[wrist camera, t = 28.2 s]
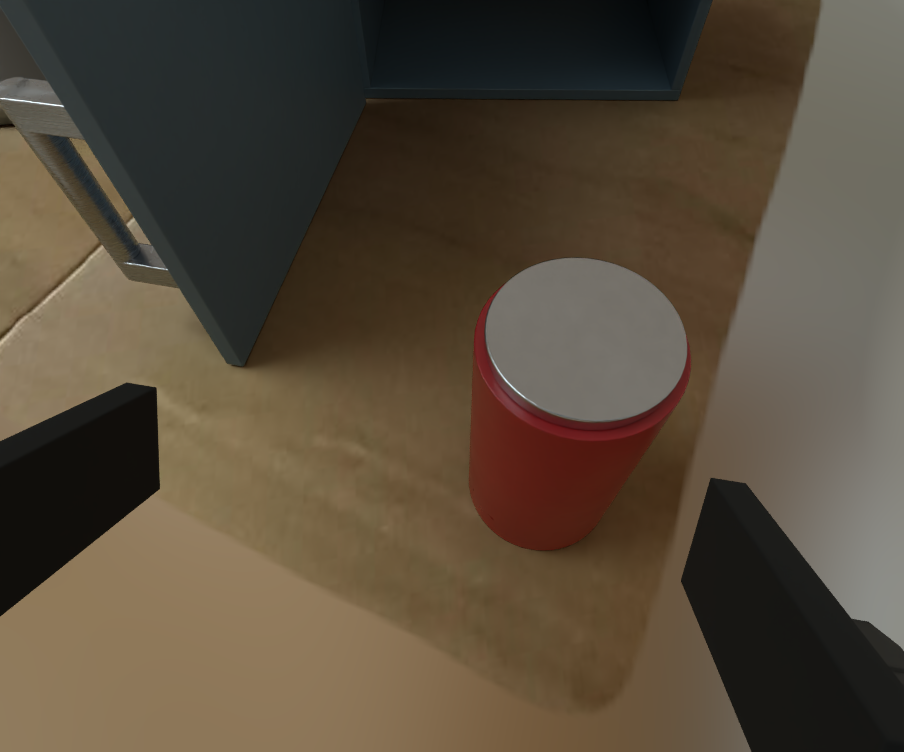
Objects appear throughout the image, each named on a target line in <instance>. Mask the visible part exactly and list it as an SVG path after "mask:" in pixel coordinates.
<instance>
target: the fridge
mask: <svg viewBox="0 0 904 752" xmlns="http://www.w3.org/2000/svg"><path fill="white" fill-rule="evenodd" d="M711 3H712V0H351V7H352V14H353V20H354V27H355V34H356V40H357V47H358V54H359V60H360V67H361V74H362V80H363V87H364V94H365V98H443V99H577V100H678V99H679V96H680V93H681V89H682V87H683V84H684V81H685V78H686V75H687V73H688V70H689V67H690V64H691V61H692V58H693V55H694V52H695V49H696V47H697V44H698V41H699V38H700V35H701V32H702V29H703V26H704V24H705V21H706V18H707V15H708V12H709V9H710V6H711Z"/></svg>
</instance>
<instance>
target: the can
mask: <svg viewBox="0 0 904 752" xmlns="http://www.w3.org/2000/svg"><path fill="white" fill-rule="evenodd" d="M690 371H691V354H690V347H689V343H688V339H687V336H686V333H685V330H684V327H683V323H682V321H681V319H680V317H679V315H678V313H677V311H676V310H675V308H674V307H673V305H672V303H671V302H670V301H669V300H668V299H667V297H666V296H665V295H664V294H663V293H662V292H661V291H660V290H659V289H658V288H657V287H656V286H654V285H653V284H652V283H650V282H649V281H648V280H647V279H645V278H643V277H642V276H640V275H638V274H637V273H635V272H633V271H631V270H629V269H627V268H625V267H622V266H619V265H616V264H614V263H610V262H606V261H602V260H597V259H591V258H578V257H574V258H560V259H553V260H549V261H544V262H541V263H538V264H535V265H533V266H530V267H528V268H526V269H524V270H522V271H521V272H519V273H518V274H516V275H515V276H513V277H512V278H511V279H510V280H508V281H507V282H506V283H505V284H504V285H502V286H501V287H500V288H499V289H498V290H497V291H496V292H495V293H494V294H493V295H492V296H491V297H490V299H489V300H488V301H487V303H486V304H485V306H484V307H483V309H482V311H481V313H480V316H479V318H478V321H477V324H476V328H475V335H474V351H473V378H472V406H471V433H470V461H469V489H470V494H471V498H472V501H473V504H474V506H475V508H476V510H477V512H478V514H479V515H480V517H481V518H482V520H483V521H484V522H485V523H486V525H487V526H488V527H489V528H490V529H491V530H492V531H493V532H495V533H496V534H497V535H498V536H500V537H501V538H503V539H504V540H506V541H508V542H510V543H512V544H514V545H517V546H520V547H522V548H527V549H531V550H541V551H542V550H555V549H561V548H564V547H567V546H570V545H572V544H574V543H576V542H578V541H579V540H581V539H582V538H584V537H585V536H586V535H587V534H589V533H590V532H591V531H592V530H593V528H594V527H595V526H596V525H597V524H598V522H599V521H600V519H601V518H602V516H603V515H604V513H605V512H606V510H607V509H608V507H609V506H610V504H611V503H612V501H613V500H614V498H615V497H616V495H617V494H618V492H619V491H620V489H621V488H622V486H623V485H624V483H625V482H626V480H627V479H628V477H629V476H630V474H631V473H632V471H633V470H634V468H635V467H636V465H637V464H638V462H639V461H640V459H641V458H642V456H643V455H644V453H645V452H646V450H647V449H648V447H649V446H650V444H651V443H652V441H653V440H654V438H655V437H656V436H657V434H658V433H659V431H660V430H661V428H662V427H663V425H664V424H665V422H666V421H667V419H668V418H669V416H670V415H671V413H672V412H673V410H674V409H675V407H676V406H677V404H678V403H679V401H680V399H681V397H682V396H683V394H684V392H685V389H686V387H687V384H688V381H689V376H690Z"/></svg>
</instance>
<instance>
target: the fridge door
mask: <svg viewBox="0 0 904 752" xmlns="http://www.w3.org/2000/svg"><path fill="white" fill-rule="evenodd" d="M0 7H1V9H2V11H3V12H4V14H5V15H6V17H7V18H8V20H9V22H10V23H11V25H12V26H13V28H14V29H15V31H16V33H17V34H18V36H19V37H20V39H21V40H22V42H23V44H24V45H25V47H26V48H27V50H28V51H29V53H30V55H31V56H32V58H33V59H34V61H35V62H36V64H37V66H38V67H39V69H40V70H41V72H42V73H43V75H44V77H45V78H46V80H40V79H31V78H25V77H13V78H9V79H6V80H3V81H1V82H0V107H1V108H2V109H3V111H4V112H5V114H6V115H7V116H8V118H9V119H10V120H11V122H12V123H13V124H14V126H15V127H16V128H17V130H18V131H19V133H20V134H21V135H22V137H23V138H24V139H25V141H26V142H27V143H28V145H29V146H30V147H31V149H32V150H33V151H34V153H35V154H36V156H37V157H38V158H39V160H40V161H41V162H42V164H43V165H44V166H45V168H46V169H47V170H48V172H49V173H50V175H51V176H52V177H53V179H54V180H55V181H56V183H57V184H58V185H59V187H60V188H61V189H62V191H63V192H64V193H65V195H66V196H67V198H68V199H69V200H70V202H71V203H72V204H73V206H74V207H75V208H76V210H77V211H78V212H79V214H80V215H81V217H82V218H83V219H84V221H85V222H86V223H87V225H88V226H89V227H90V229H91V230H92V231H93V233H94V234H95V236H96V237H97V238H98V240H99V241H100V242H101V244H102V245H103V246H104V248H105V249H106V250H107V252H108V253H109V254H110V256H111V257H112V259H113V260H114V261H115V263H116V264H117V265H118V267H119V268H120V269H121V271H122V272H123V273H124V275H125V276H126V277H127V278H128V279H129V280H132V281H137V282H143V283H149V284H156V285H162V286H168V287H174V288H179V289H180V290H181V292H182V293H183V295H184V297H185V298H186V300H187V301H188V303H189V304H190V306H191V308H192V309H193V311H194V312H195V314H196V315H197V317H198V319H199V320H200V322H201V323H202V325H203V326H204V328H205V330H206V331H207V333H208V334H209V336H210V337H211V339H212V341H213V342H214V344H215V345H216V347H217V348H218V350H219V352H220V353H221V355H222V356H223V358H224V359H225V361H226V363H228V364H232V365H238V366H244V365H245V362H246V360H247V358H248V356H249V354H250V352H251V350H252V347H253V345H254V343H255V341H256V339H257V337H258V334H259V332H260V330H261V328H262V326H263V324H264V322H265V319H266V317H267V315H268V313H269V311H270V309H271V306H272V304H273V302H274V300H275V298H276V296H277V294H278V291H279V289H280V287H281V285H282V283H283V281H284V278H285V276H286V274H287V272H288V270H289V268H290V266H291V263H292V261H293V259H294V257H295V255H296V253H297V250H298V248H299V246H300V244H301V242H302V240H303V238H304V235H305V233H306V231H307V229H308V227H309V225H310V222H311V220H312V218H313V216H314V214H315V212H316V209H317V207H318V205H319V203H320V201H321V199H322V197H323V194H324V192H325V190H326V188H327V186H328V184H329V181H330V179H331V177H332V175H333V173H334V171H335V169H336V166H337V164H338V162H339V160H340V158H341V156H342V153H343V151H344V149H345V147H346V145H347V143H348V141H349V138H350V136H351V134H352V132H353V130H354V128H355V125H356V123H357V121H358V119H359V117H360V115H361V113H362V110H363V108H364V106H365V104H366V100H365V94H364V87H363V80H362V74H361V67H360V60H359V54H358V47H357V40H356V34H355V27H354V20H353V14H352V7H351V0H0ZM69 138H75V139H83V140H85V141H86V143H87V144H88V146H89V147H90V149H91V150H92V152H93V154H94V155H95V157H96V158H97V160H98V161H99V163H100V165H101V166H102V168H103V169H104V171H105V172H106V174H107V176H108V177H109V179H110V180H111V182H112V183H113V185H114V187H115V188H116V190H117V191H118V193H119V194H120V196H121V198H122V199H123V201H124V202H125V204H126V205H127V207H128V209H129V210H130V212H131V213H132V215H133V216H134V218H135V220H136V221H137V223H138V224H139V226H140V227H141V229H142V231H143V232H144V234H145V235H146V237H147V238H148V240H149V242H150V243H151V245H148V244H141V243H138V242H137V240H136V239H135V237H134V236H133V234H132V233H131V231H130V230H129V228H128V227H127V225H126V224H125V222H124V221H123V219H122V218H121V216H120V215H119V213H118V212H117V210H116V209H115V207H114V206H113V204H112V203H111V201H110V200H109V198H108V197H107V195H106V193H105V192H104V190H103V189H102V187H101V186H100V184H99V183H98V181H97V180H96V178H95V177H94V175H93V174H92V172H91V171H90V169H89V168H88V166H87V165H86V163H85V162H84V160H83V159H82V157H81V156H80V154H79V153H78V151H77V150H76V148H75V147H74V145H73V144H72V142H71V141H70V139H69Z"/></svg>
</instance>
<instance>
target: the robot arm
mask: <svg viewBox="0 0 904 752" xmlns="http://www.w3.org/2000/svg"><path fill="white" fill-rule="evenodd" d="M13 77H25V78H31V79H40V80H46V78H45V77H44V75H43V73H42V72H41V70H40V69H39V67H38V66H37V64H36V62H35V61H34V59H33V58H32V56H31V55H30V53H29V51H28V50H27V48H26V47H25V45H24V44H23V42H22V40H21V39H20V37H19V36H18V34H17V33H16V31H15V29H14V28H13V26H12V25H11V23H10V22H9V20H8V18H7V17H6V15H5V14H4V12H3V11H2V9H1V7H0V82H1V81H3V80H6V79H9V78H13ZM3 124H13V123H12V122H11V120H10V119H9V118H8V116H7V115H6V114H5V112H4V111H3V109H2V108H1V107H0V125H3ZM159 489H160V479H159V449H158V419H157V389H156V387H150V386H144V385H138V384H132V383H125V384H123V385H120V386H118V387H116V388H114V389H112V390H110V391H107V392H105V393H103V394H101V395H99V396H97V397H95V398H92V399H90V400H88V401H86V402H84V403H82V404H80V405H77V406H75V407H73V408H71V409H69V410H67V411H64V412H62V413H60V414H58V415H56V416H54V417H52V418H49V419H47V420H45V421H43V422H41V423H39V424H36V425H34V426H32V427H30V428H28V429H26V430H24V431H22V432H19V433H17V434H15V435H13V436H11V437H9V438H6V439H4V440H2V441H0V616H1V615H3V614H4V613H5V612H6V611H7V610H9V609H10V608H11V607H13V606H14V605H15V604H16V603H18V602H19V601H20V600H21V599H23V598H24V597H25V596H26V595H28V594H29V593H30V592H31V591H33V590H34V589H35V588H36V587H38V586H39V585H40V584H41V583H43V582H44V581H45V580H46V579H48V578H49V577H50V576H51V575H53V574H54V573H55V572H56V571H58V570H59V569H60V568H61V567H63V566H64V565H65V564H66V563H68V562H69V561H70V560H71V559H73V558H74V557H75V556H76V555H78V554H79V553H80V552H81V551H83V550H84V549H85V548H86V547H87V546H89V545H90V544H91V543H93V542H94V541H95V540H96V539H98V538H99V537H100V536H101V535H103V534H104V533H105V532H106V531H108V530H109V529H110V528H111V527H113V526H114V525H115V524H116V523H118V522H119V521H120V520H121V519H123V518H124V517H125V516H126V515H128V514H129V513H130V512H131V511H133V510H134V509H135V508H136V507H138V506H139V505H140V504H141V503H143V502H144V501H145V500H146V499H148V498H149V497H150V496H151V495H153V494H154V493H155V492H156V491H158V490H159ZM681 582H682V584H683V587H684V589H685V592H686V594H687V597H688V599H689V601H690V604H691V606H692V608H693V611H694V614H695V616H696V618H697V621H698V623H699V626H700V628H701V631H702V633H703V635H704V638H705V640H706V643H707V645H708V648H709V650H710V652H711V655H712V657H713V660H714V662H715V664H716V667H717V669H718V672H719V674H720V676H721V679H722V681H723V684H724V686H725V689H726V691H727V693H728V696H729V698H730V700H731V703H732V706H733V708H734V710H735V713H736V715H737V718H738V720H739V723H740V725H741V727H742V730H743V732H744V735H745V737H746V739H747V742H748V744H749V747H750V749H751V752H904V651H903V650H902V648H901V647H900V646H899V645H897V644H896V643H895V642H894V641H892V640H891V639H890V638H888V637H887V636H886V635H885V634H883V633H882V632H881V631H880V630H878V629H877V628H875V627H874V626H873V625H872V624H871V623H869V622H867V621H861V620H855V619H851V618H850V616H849V615H848V614H847V613H846V611H845V610H844V609H843V607H842V606H841V605H840V604H839V602H838V601H837V600H836V598H835V597H834V596H833V595H832V593H831V592H830V591H829V589H828V588H827V587H826V586H825V584H824V583H823V582H822V580H821V579H820V578H819V577H818V575H817V574H816V573H815V572H814V570H813V569H812V568H811V566H810V565H809V564H808V563H807V561H806V560H805V559H804V558H803V556H802V555H801V554H800V552H799V551H798V550H797V548H796V547H795V546H794V545H793V543H792V542H791V541H790V540H789V538H788V537H787V536H786V534H785V533H784V532H783V531H782V529H781V528H780V527H779V526H778V524H777V523H776V522H775V520H774V519H773V518H772V516H771V515H770V514H769V513H768V511H767V510H766V509H765V508H764V506H763V505H762V504H761V502H760V501H759V500H758V499H757V497H756V496H755V495H754V493H753V492H752V491H751V490H750V488H749V487H748V486H747V485H746V483H740V482H734V481H727V480H721V479H715V478H711V479H710V482H709V486H708V489H707V493H706V496H705V499H704V503H703V506H702V510H701V513H700V517H699V520H698V524H697V527H696V531H695V534H694V537H693V541H692V544H691V548H690V551H689V554H688V558H687V561H686V565H685V568H684V572H683V575H682V579H681Z"/></svg>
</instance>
